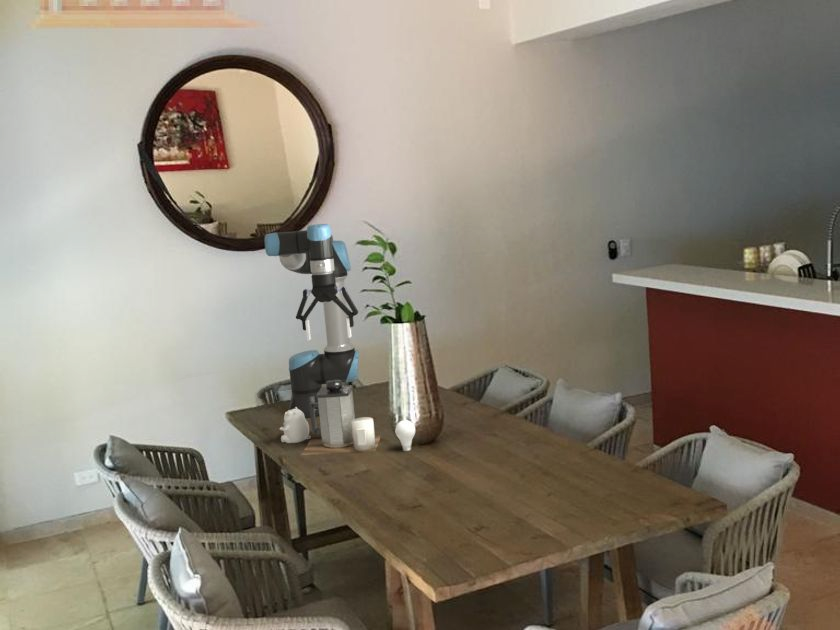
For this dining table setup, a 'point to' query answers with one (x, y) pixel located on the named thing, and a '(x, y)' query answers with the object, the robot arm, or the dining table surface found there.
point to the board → (318, 448)
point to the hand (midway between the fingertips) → (329, 338)
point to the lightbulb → (405, 433)
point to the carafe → (334, 416)
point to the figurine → (295, 427)
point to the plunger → (334, 385)
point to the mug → (363, 433)
